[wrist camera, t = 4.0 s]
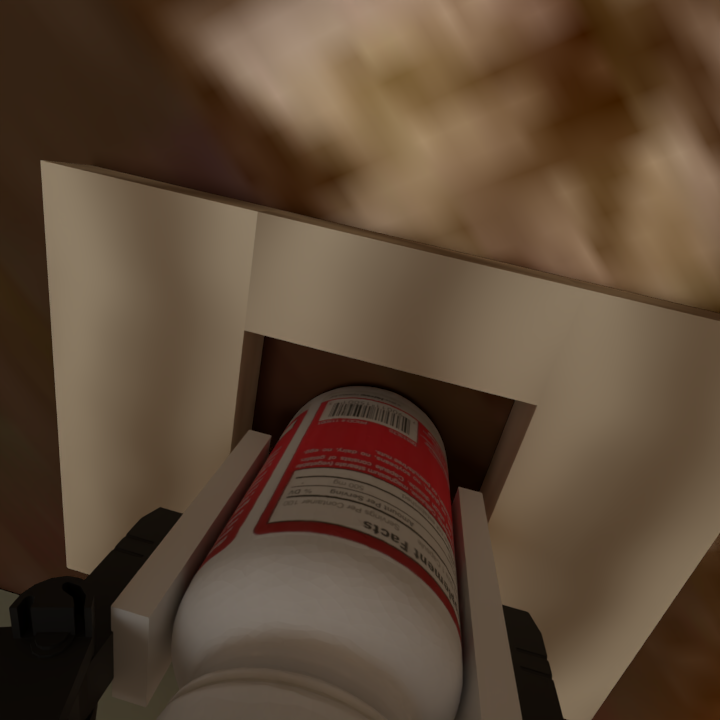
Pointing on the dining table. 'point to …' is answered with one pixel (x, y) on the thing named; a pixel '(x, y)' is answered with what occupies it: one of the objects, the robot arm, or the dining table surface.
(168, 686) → the tray
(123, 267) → the socket block
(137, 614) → the robot arm
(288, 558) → the pill bottle
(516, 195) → the dining table surface
